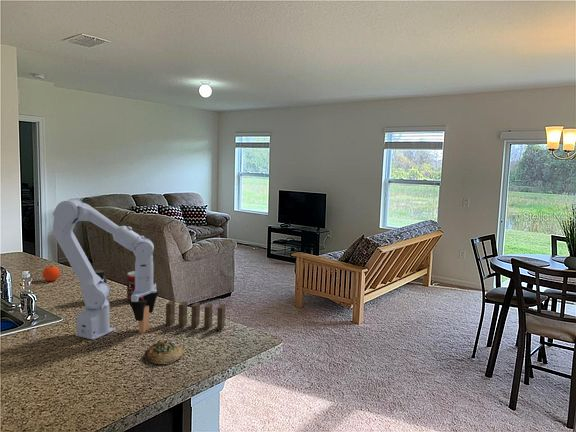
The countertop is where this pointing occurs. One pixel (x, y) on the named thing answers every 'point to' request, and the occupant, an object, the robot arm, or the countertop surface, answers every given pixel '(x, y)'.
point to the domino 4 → (195, 315)
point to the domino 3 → (182, 314)
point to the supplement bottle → (101, 275)
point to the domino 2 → (170, 313)
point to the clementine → (51, 273)
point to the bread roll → (163, 353)
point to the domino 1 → (144, 321)
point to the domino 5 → (208, 316)
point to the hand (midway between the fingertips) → (144, 316)
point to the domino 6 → (221, 317)
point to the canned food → (131, 284)
